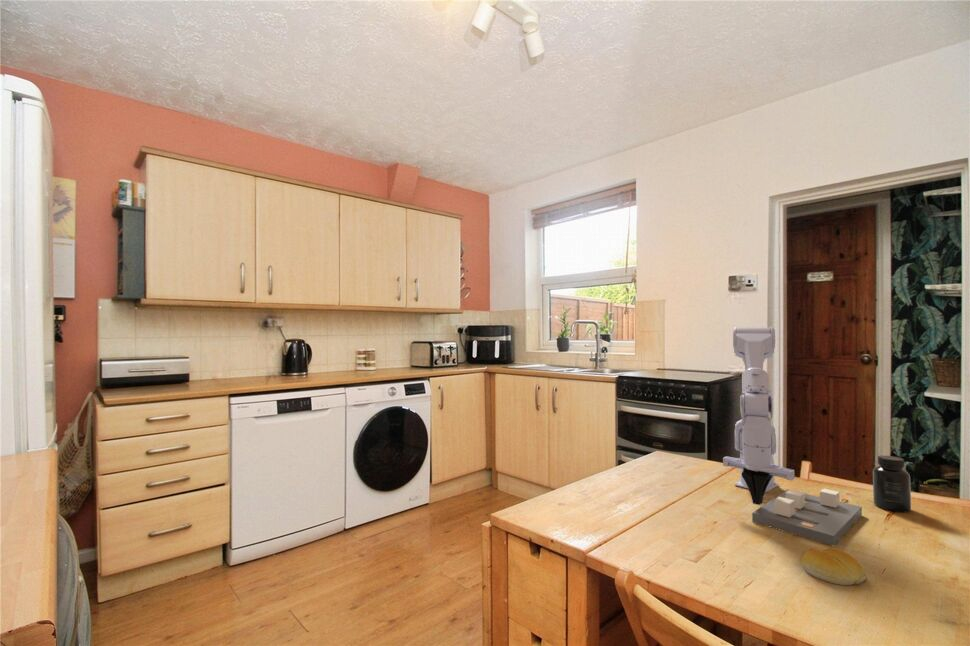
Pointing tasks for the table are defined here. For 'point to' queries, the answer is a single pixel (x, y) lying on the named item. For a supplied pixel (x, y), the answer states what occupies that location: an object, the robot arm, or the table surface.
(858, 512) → the switch panel
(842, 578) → the bread roll
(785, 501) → the block
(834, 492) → the block
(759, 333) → the robot arm
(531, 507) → the table surface
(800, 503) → the slider middle
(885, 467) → the supplement bottle
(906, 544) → the table surface
